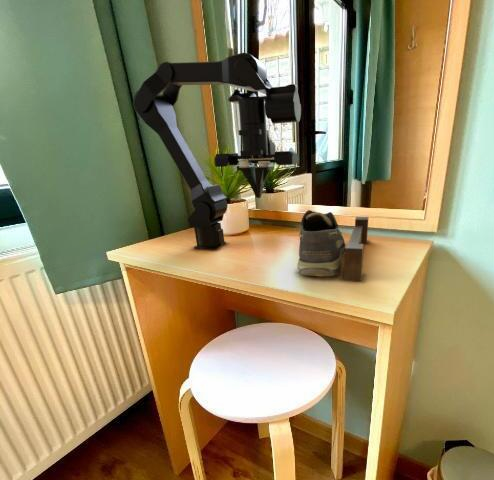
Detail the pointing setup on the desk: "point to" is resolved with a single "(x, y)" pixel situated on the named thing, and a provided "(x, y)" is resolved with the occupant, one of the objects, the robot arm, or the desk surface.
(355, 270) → the rail
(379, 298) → the desk surface
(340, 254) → the boat shoe
